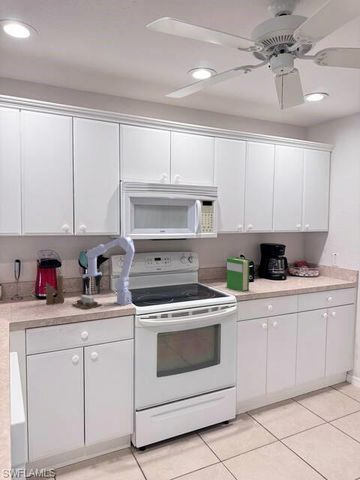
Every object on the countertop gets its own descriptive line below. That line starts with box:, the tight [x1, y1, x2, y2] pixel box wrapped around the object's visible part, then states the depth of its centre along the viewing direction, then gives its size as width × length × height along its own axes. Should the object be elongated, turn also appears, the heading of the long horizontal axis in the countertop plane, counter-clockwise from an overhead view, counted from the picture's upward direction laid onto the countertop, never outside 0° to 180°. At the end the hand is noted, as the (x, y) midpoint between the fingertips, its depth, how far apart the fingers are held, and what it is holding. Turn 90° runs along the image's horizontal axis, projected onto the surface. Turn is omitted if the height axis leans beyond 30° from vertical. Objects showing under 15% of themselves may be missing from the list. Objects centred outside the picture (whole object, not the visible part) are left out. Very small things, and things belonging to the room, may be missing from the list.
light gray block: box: [80, 294, 95, 305], centre depth 223 cm, size 10×3×5 cm, turn 50°
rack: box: [72, 299, 103, 311], centre depth 223 cm, size 14×12×3 cm
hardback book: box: [226, 257, 250, 293], centre depth 276 cm, size 18×7×24 cm, turn 34°
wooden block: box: [45, 274, 65, 305], centre depth 228 cm, size 4×11×18 cm, turn 124°
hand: (92, 287), depth 235 cm, fingers open, 7 cm apart
